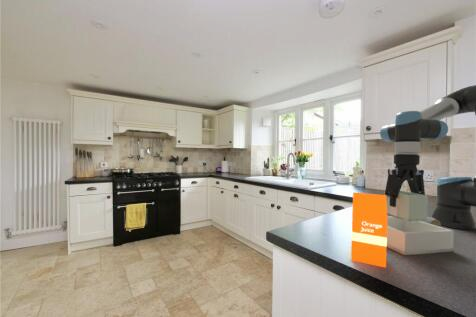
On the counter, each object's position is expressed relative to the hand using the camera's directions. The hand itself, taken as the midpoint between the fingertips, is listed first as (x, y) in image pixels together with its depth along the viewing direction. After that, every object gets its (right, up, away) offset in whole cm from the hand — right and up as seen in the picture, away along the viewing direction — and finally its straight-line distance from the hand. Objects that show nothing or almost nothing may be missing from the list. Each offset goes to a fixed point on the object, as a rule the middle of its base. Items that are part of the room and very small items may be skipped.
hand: (404, 215), depth 80 cm
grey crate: (0, -10, 0) cm, 10 cm away
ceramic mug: (+18, -11, +11) cm, 24 cm away
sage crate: (0, -1, 0) cm, 1 cm away
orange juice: (-22, -10, -13) cm, 28 cm away
